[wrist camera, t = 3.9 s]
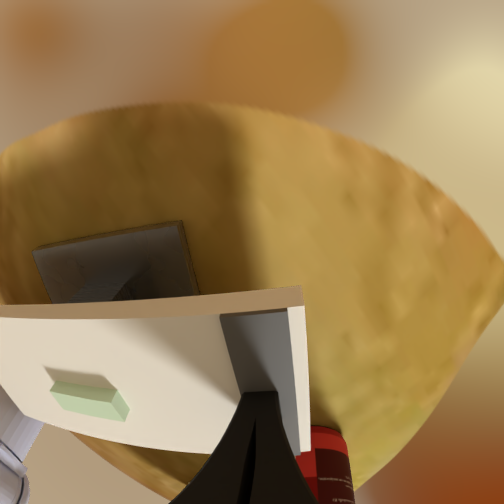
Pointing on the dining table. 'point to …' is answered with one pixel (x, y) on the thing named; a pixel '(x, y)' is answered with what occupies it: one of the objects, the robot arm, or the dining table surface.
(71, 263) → the pivot stand
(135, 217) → the dining table surface
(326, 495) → the canned food
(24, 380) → the leveling board
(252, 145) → the dining table surface
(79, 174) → the dining table surface
